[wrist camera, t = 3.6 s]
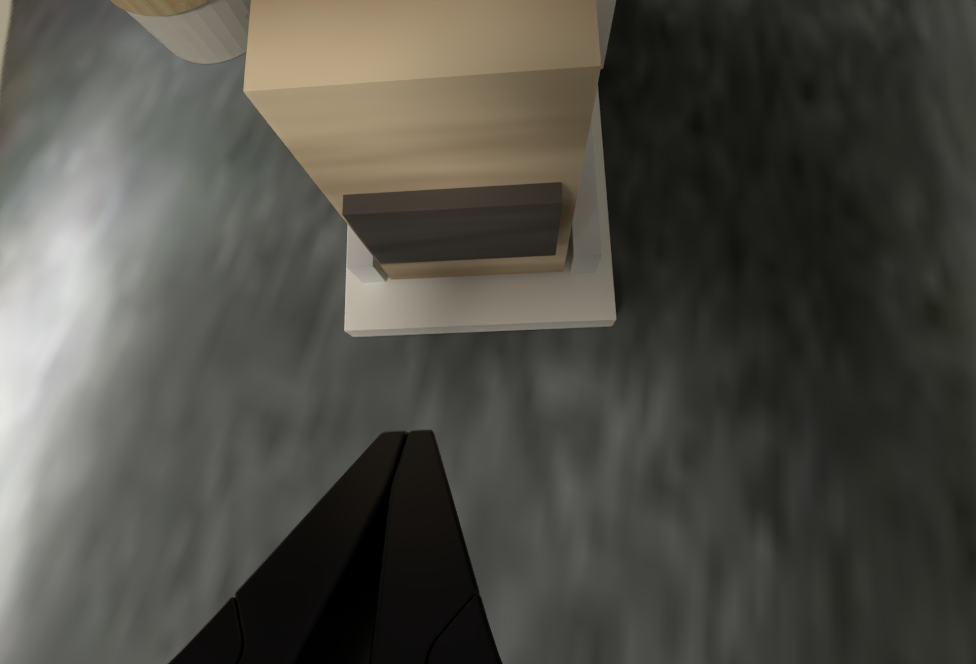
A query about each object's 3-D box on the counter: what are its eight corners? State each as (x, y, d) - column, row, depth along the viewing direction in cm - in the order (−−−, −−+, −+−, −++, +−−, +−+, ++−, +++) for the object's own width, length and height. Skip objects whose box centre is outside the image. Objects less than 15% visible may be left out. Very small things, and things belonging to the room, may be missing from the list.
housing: (624, 326, 23) (659, 277, 17) (342, 337, 24) (275, 295, 18) (588, -105, 28) (606, -266, 22) (356, -84, 29) (308, -233, 22)
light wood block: (564, 285, 22) (603, 93, 10) (391, 293, 22) (241, 118, 11) (557, 180, 23) (587, -104, 11) (392, 190, 23) (256, -73, 12)
